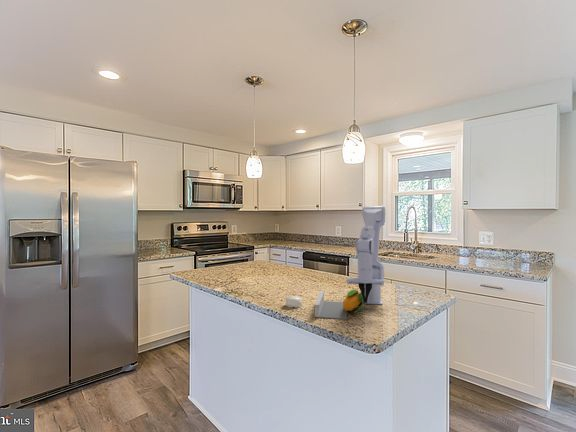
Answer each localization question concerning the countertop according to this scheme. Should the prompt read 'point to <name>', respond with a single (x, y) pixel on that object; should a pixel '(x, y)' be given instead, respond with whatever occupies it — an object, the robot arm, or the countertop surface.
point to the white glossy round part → (293, 301)
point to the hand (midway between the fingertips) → (365, 302)
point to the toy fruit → (353, 300)
